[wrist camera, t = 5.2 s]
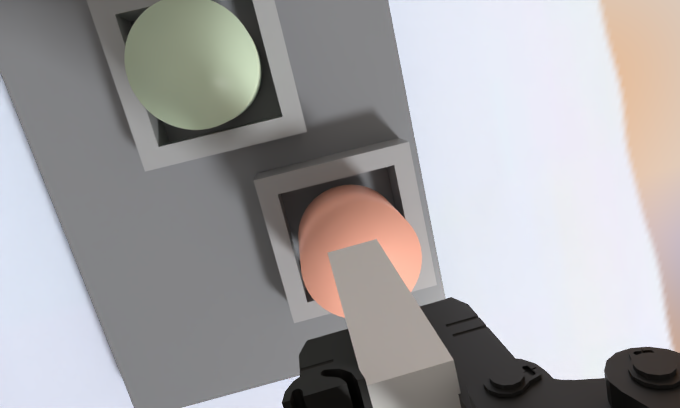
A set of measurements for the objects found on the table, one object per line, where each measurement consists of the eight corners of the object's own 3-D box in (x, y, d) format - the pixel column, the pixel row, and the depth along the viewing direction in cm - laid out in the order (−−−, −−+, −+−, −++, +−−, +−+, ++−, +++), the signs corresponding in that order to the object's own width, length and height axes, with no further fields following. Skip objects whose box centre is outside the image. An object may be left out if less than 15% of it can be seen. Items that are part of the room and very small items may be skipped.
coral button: (312, 293, 21) (317, 332, 17) (286, 198, 20) (286, 221, 16) (408, 268, 21) (431, 301, 18) (388, 173, 20) (409, 189, 17)
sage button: (172, 134, 20) (149, 143, 17) (137, 26, 19) (105, 11, 16) (274, 110, 20) (272, 113, 17) (245, 1, 19) (237, -19, 16)
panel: (150, 394, 25) (126, 445, 21) (-112, -285, 18) (-216, -385, 14) (439, 315, 26) (465, 352, 22) (305, -364, 19) (310, -476, 15)
